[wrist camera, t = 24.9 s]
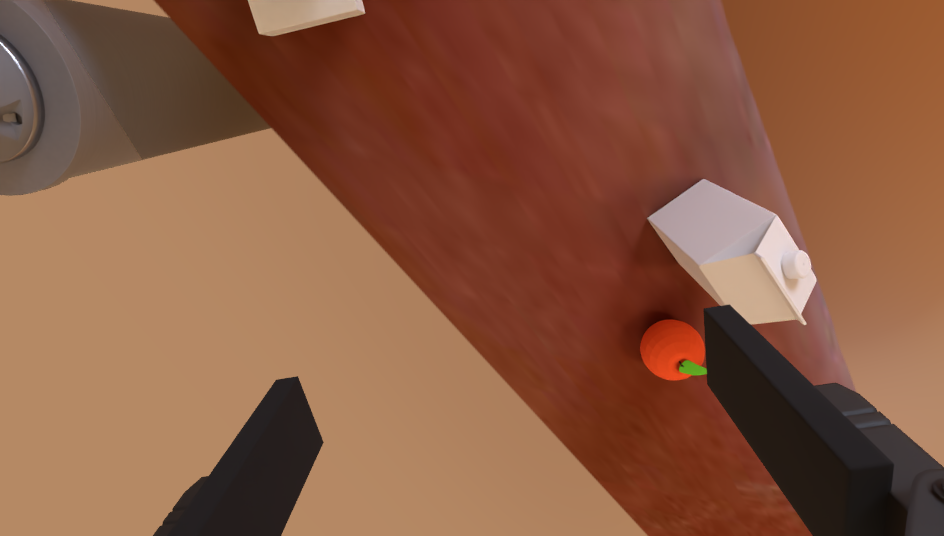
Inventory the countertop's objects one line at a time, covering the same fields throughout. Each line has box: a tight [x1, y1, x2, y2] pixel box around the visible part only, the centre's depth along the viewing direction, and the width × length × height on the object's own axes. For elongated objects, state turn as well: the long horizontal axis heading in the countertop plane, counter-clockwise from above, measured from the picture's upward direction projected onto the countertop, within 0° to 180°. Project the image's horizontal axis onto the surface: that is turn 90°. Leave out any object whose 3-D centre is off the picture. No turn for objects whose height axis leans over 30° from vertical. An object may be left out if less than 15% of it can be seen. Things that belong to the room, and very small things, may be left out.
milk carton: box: [647, 179, 817, 325], centre depth 47 cm, size 7×7×19 cm
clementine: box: [640, 319, 707, 380], centre depth 57 cm, size 8×7×7 cm
